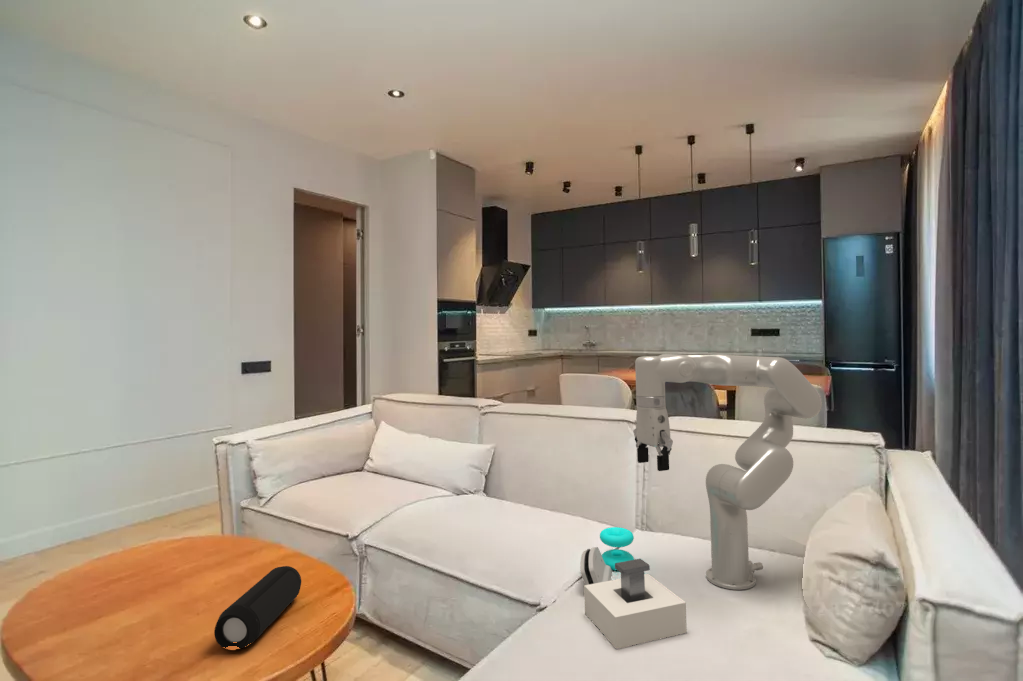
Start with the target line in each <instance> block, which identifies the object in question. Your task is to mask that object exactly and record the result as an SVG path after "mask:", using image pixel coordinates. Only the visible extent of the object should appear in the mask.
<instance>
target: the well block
mask: <svg viewBox="0 0 1023 681" xmlns="http://www.w3.org/2000/svg"><path fill="white" fill-rule="evenodd" d="M644 580H645V600H640V601H636V602H631V603H627V602H625V601H624V600H623V599H622V596H621V578H617V579H616V578H615V579H611V581H605V582H600V583H595V584H589V585H585V584H583V591H584V592H583V594H584V598H583V600H584V614H585V616H588V617H589V618H590V619H591V620H592V621H593V622H592V621H591V620H590V619H589V618H588V617H587V618H588V619H589V620H590V621H591V622H592V624H594V625H596V626H597V627H598V628H599V629H600V630H599V629H598V628H597V627H596V626H595V627H596V628H597V629H598V630H599V631H600V633H601V634H602V633H603V634H604V635H605V636H604V635H603V634H602V635H603V636H604V637H605V638H606V639H607V641H609V643H610V644H611V645H612V646H613V647H614V648H615V649H616V650H620V649H623V648H629V647H632V645H633V646H636V644H637V645H641V644H646V643H649V642H648V641H650V642H653V641H652V640H654V641H658V640H657V639H659V640H661V639H660V638H663V639H667V638H670V637H669V636H672V637H676V636H679V635H678V634H680V635H684V634H683V633H685V634H687V630H688V629H687V628H688V627H687V625H688V624H687V602H686V601H685V600H683V599H682V598H680V596H678V595H677V594H675V593H674V592H673V591H671V589H669V588H667V587H666V586H665V585H664V584H663V583H661V582H660V581H658V580H657V579H656V578H654V577H653V576H652V575H650V574H649V573H644ZM675 635H676V636H675ZM666 637H667V638H666ZM645 642H646V643H645ZM640 643H641V644H640Z"/></svg>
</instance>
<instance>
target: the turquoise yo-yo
mask: <svg viewBox="0 0 1023 681" xmlns="http://www.w3.org/2000/svg"><path fill="white" fill-rule="evenodd" d="M599 539H600V541H601V542H602V543H603V544H604V545H606V546H608V547H612V549H608V550H605V551H604V552H603V553H601V555H602V558H603V560H604V562H605V564H606V565H608V566H610V568H611V570H612V571H616V570H617V569H615V563H619V562H625V561H630V560H635V558H634V555H632V553H630V552H629V551H627V550H624V549H620V548H625V547H628V546H631V545H632V543H633V542H634V539H635V536H634V533H633V532H632V531H631V530H629V529H627V528H624V527H618V526H612V527H607V528H604V529H602V530H601V532H599ZM615 548H617V549H615ZM618 548H619V549H618ZM617 571H618V570H617ZM617 571H616V572H617ZM618 572H619V571H618Z"/></svg>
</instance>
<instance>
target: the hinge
mask: <svg viewBox="0 0 1023 681" xmlns="http://www.w3.org/2000/svg"><path fill="white" fill-rule="evenodd" d="M579 568H580V574H581V577H582V580H583V583H584V584H583V585H589V584H595V583H600V582H605V581H611V580H612V578H611V576H612V577H613V570H611V568H610V566H608V565H606V564H605V562H604V560H603V558H602V552H601V550H600V549H599V547H597V546H596V547H594V546H593V547H591V548H587V549H585V550H584V551H583V552H582V553H581V556H580V567H579Z"/></svg>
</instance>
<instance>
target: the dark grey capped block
mask: <svg viewBox="0 0 1023 681" xmlns="http://www.w3.org/2000/svg"><path fill="white" fill-rule="evenodd" d="M615 569H617V570H618V572H619V573H620V579H621V596H622V599H623V600H624V601H625V602H627V603H631V602H636V601H640V600H645V580H644V574H645V572H648V571H651V570H650V569H651V568H650V564H648V563H647V562H646V561H645V560H643V559H642V558H637V559H635V558H634V560H630V561H625V562H619V563H615Z"/></svg>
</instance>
